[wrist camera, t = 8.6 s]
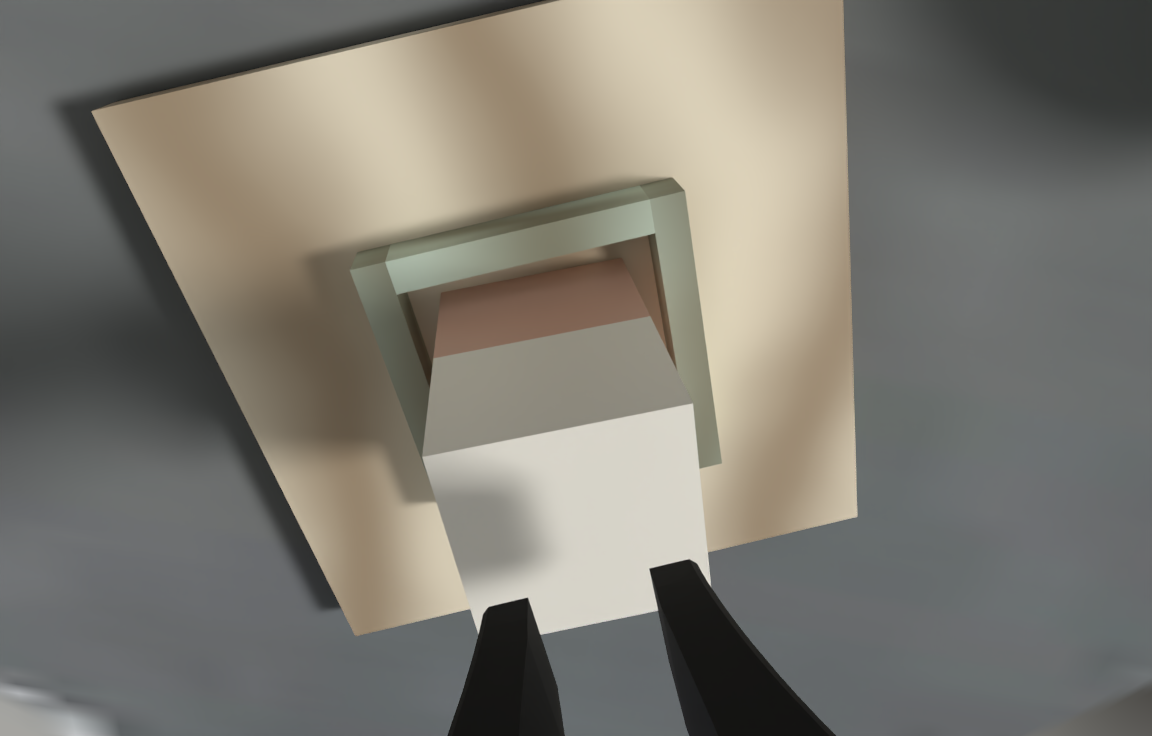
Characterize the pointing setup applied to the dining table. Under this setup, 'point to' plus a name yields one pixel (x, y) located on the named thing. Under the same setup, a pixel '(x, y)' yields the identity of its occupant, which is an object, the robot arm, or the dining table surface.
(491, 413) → the white brown rectangular block
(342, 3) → the dining table surface
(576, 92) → the board
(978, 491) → the dining table surface
